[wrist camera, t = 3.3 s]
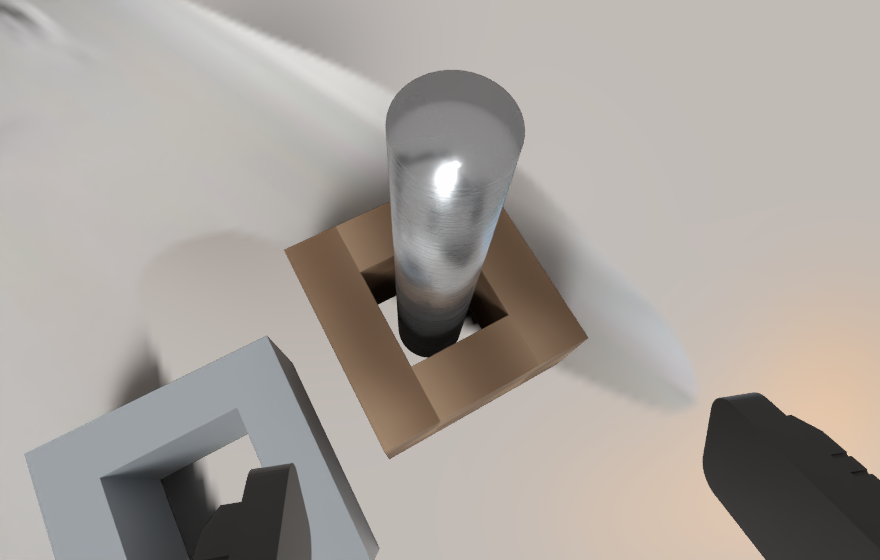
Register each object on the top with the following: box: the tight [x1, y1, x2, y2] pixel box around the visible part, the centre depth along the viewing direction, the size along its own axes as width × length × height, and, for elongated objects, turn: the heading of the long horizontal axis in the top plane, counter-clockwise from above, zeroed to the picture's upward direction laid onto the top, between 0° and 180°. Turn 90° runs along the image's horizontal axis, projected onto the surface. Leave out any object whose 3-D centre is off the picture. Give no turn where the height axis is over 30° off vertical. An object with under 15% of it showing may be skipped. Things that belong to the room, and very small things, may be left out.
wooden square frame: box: [284, 202, 588, 459], centre depth 24 cm, size 9×9×5 cm
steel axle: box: [386, 70, 525, 358], centre depth 19 cm, size 3×3×16 cm
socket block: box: [24, 336, 379, 560], centre depth 21 cm, size 9×9×5 cm
